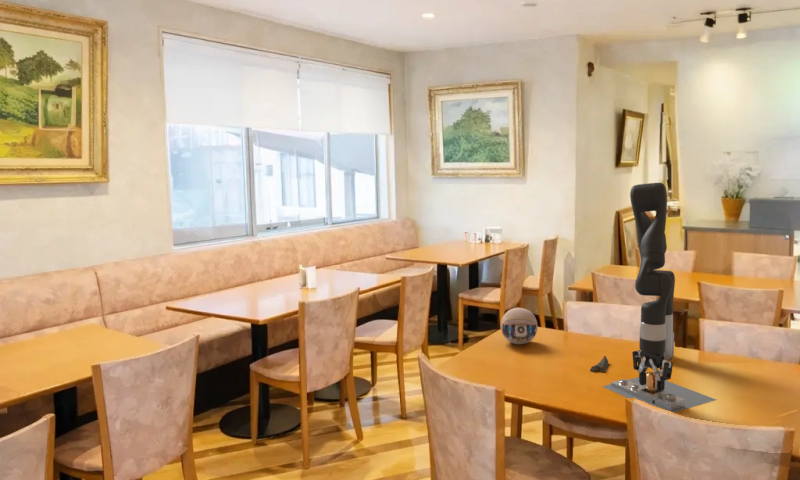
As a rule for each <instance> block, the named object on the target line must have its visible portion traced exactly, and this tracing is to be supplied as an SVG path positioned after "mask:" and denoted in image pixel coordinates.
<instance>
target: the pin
mask: <svg viewBox="0 0 800 480" xmlns="http://www.w3.org/2000/svg"><path fill="white" fill-rule="evenodd" d="M645 373H646V392H647V393H650V394H655V393H656V387H657V377H656V374H655V373H654V371H648V372H647V371H646V372H645Z"/></svg>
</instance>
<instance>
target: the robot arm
mask: <svg viewBox="0 0 800 480" xmlns="http://www.w3.org/2000/svg"><path fill="white" fill-rule="evenodd" d="M629 197H630V203H631V208H632V213H633V216H634V221H635V228H636V237H637V239H636V240H637V245H638V251H639V256H640V257H639V258H640V265H639V270H638V272H637V273H638V274H637V276H636V279H635V285H634V286H635V290H636V293H637V294H638V295H640V296H644V297H645V296H646V297H652V296H653V297H654V296H655V297H658V298H656V300H652V301H648V302H644V303H642V305H641V306H640V308H641V309H640V325H639V343H638V344H639V348H638V350H637V349H636V350H634V351H632V363H633V364H632V365H633V369H634V370H635V371H637V373H638V377H639V382H640V385H645V384H646V373H647V371H648V368H650V369H652V372H654V373H655V374H656V377H657V391H658V392H662V391H663V390H664V389H665V380H666V381H668V380H671V379H672V372H673V367H674V362H673V361H672V359H673V358H674V357H675V356H674V355H675V352H674V351H675V332H674V330H673V327H674V295H675V285H676V283H675V282H676V277H675V276H676V275H675V274H674V272H673V271H671V270H663V267H664V266H665V263H666V255H665V254H666V251H667V248H668V247H667V246H668V244H667V236H666V233H665V232H666V223H667V211H668V209H667V208H668V193H667V188H666V186H665V184H664V183H663V182H651V183H640V184H636V185H635V184H634V185H633V186H632V187H631V188H630V193H629ZM646 212H647V213H648V212H655V216H654V219H652V218H650V217H649V215H647V213H646ZM661 269H662V270H661Z"/></svg>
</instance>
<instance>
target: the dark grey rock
mask: <svg viewBox="0 0 800 480" xmlns="http://www.w3.org/2000/svg"><path fill="white" fill-rule="evenodd" d="M608 368H609V360H608V358H607V356H606V355H603V357H602V359H601V360H600V361H599V362H598V363H596V364H595V365H593V366H591V367H590V370H589V371H590V372H593V373H594V372H600V373H607V370H608Z"/></svg>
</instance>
